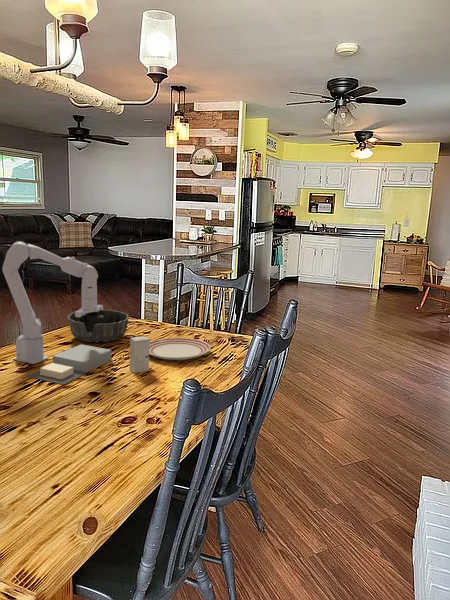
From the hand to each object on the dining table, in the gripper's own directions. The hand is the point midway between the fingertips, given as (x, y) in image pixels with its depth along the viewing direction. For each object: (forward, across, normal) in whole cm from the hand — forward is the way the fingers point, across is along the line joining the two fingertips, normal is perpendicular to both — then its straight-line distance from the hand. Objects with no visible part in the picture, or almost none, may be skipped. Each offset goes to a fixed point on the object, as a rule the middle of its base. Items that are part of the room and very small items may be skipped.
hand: (89, 331), depth 181 cm
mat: (+10, -22, -3) cm, 24 cm away
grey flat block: (+10, -8, -3) cm, 13 cm away
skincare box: (+10, -4, -25) cm, 27 cm away
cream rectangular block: (+7, -22, -3) cm, 23 cm away
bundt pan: (+10, +22, +12) cm, 27 cm away
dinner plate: (+10, +20, -28) cm, 36 cm away
